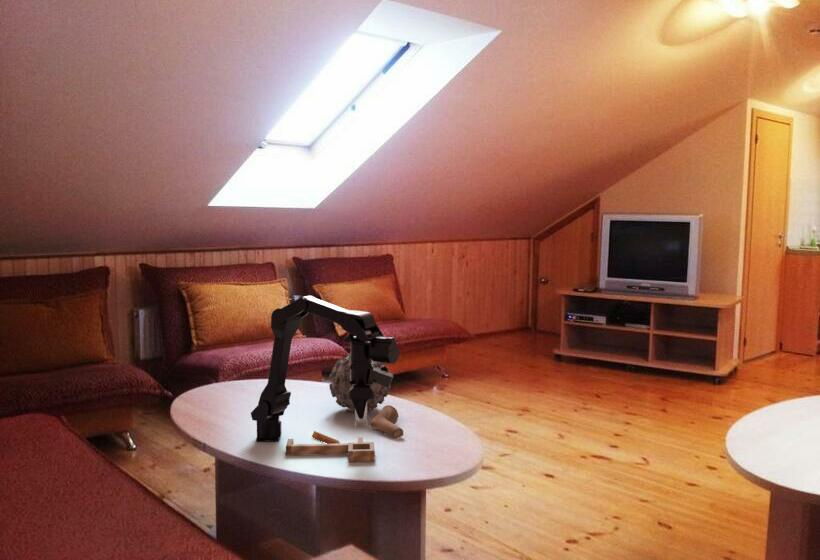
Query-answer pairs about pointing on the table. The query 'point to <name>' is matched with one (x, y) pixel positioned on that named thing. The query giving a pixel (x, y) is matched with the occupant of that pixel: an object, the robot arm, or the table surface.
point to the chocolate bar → (324, 438)
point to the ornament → (342, 384)
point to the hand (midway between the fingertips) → (361, 416)
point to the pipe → (387, 422)
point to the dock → (336, 450)
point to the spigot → (363, 421)
